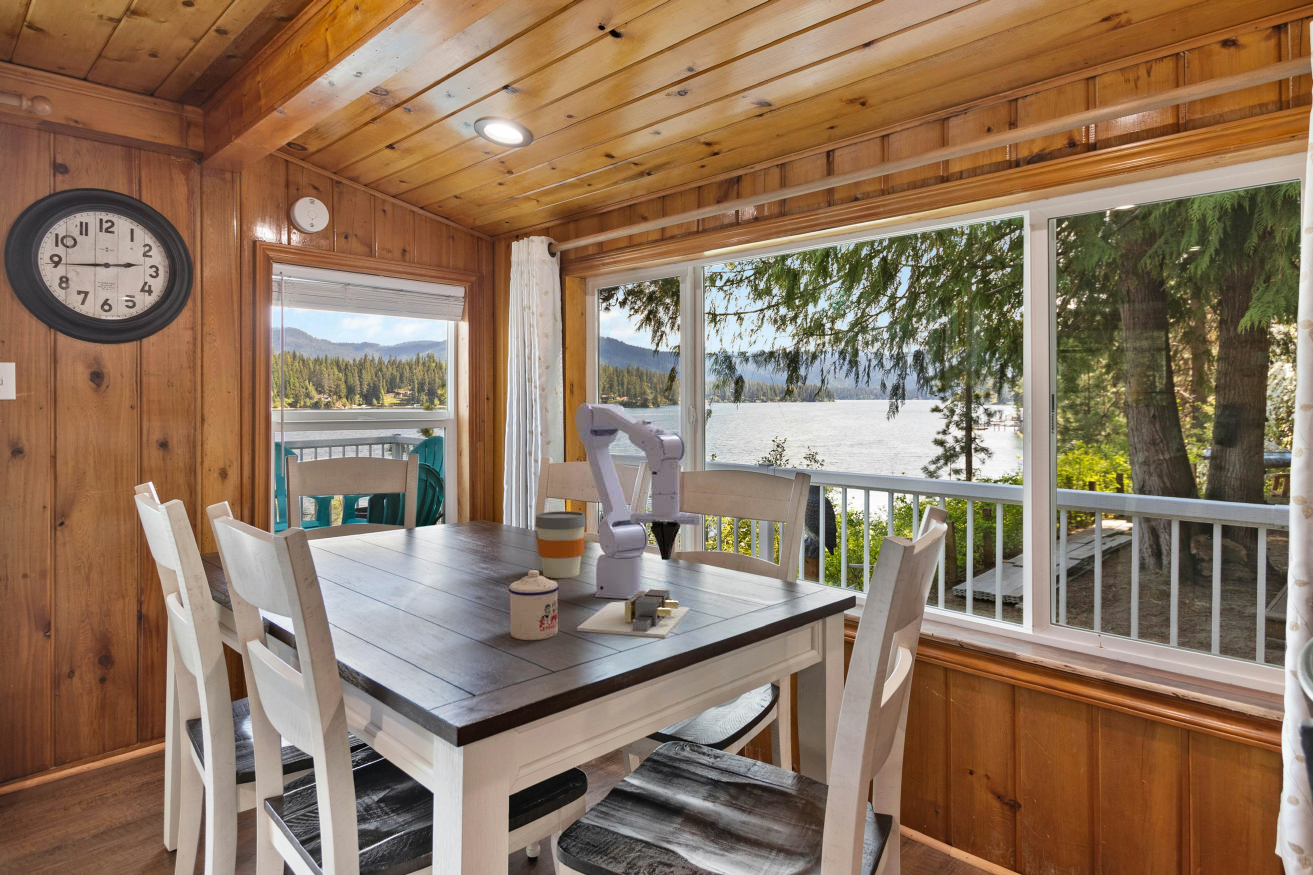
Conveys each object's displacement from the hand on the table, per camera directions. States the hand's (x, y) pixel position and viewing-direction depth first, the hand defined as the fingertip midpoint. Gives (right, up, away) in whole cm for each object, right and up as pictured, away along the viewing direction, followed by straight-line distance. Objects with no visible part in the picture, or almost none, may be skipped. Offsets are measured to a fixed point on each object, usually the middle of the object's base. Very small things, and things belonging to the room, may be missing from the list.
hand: (666, 559), depth 154 cm
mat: (-6, -11, -7) cm, 14 cm away
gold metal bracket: (-3, -10, -8) cm, 13 cm away
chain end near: (-4, -10, -13) cm, 17 cm away
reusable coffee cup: (-26, -10, +34) cm, 44 cm away
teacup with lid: (-24, -11, -14) cm, 30 cm away
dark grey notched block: (-1, -10, -4) cm, 11 cm away
